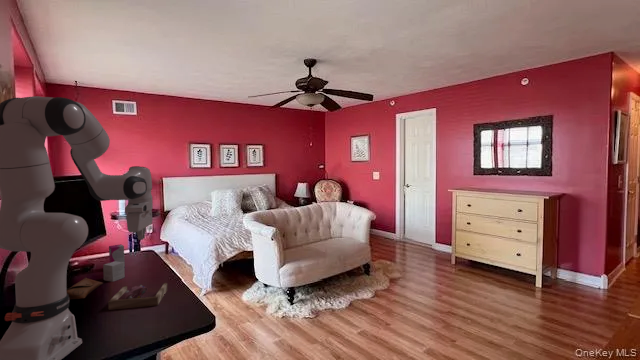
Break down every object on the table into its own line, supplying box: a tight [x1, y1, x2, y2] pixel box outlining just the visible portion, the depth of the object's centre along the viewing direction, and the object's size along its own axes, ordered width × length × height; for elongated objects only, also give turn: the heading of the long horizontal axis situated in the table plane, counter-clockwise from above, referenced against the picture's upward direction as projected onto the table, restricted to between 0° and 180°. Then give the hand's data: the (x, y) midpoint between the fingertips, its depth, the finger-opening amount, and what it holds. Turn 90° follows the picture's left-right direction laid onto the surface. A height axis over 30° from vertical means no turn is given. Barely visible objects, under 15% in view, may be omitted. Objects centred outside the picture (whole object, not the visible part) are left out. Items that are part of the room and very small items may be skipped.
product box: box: [102, 261, 125, 282], centre depth 152 cm, size 6×6×7 cm
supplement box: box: [108, 244, 126, 269], centre depth 168 cm, size 6×6×12 cm
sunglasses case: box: [67, 277, 104, 300], centre depth 138 cm, size 18×7×7 cm, turn 12°
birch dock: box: [107, 282, 168, 311], centre depth 129 cm, size 16×16×3 cm
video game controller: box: [118, 284, 148, 300], centre depth 127 cm, size 10×5×7 cm, turn 160°
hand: (141, 239), depth 136 cm, fingers closed
